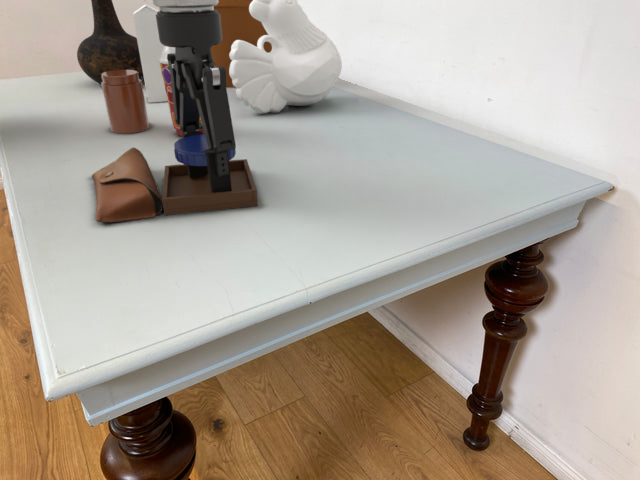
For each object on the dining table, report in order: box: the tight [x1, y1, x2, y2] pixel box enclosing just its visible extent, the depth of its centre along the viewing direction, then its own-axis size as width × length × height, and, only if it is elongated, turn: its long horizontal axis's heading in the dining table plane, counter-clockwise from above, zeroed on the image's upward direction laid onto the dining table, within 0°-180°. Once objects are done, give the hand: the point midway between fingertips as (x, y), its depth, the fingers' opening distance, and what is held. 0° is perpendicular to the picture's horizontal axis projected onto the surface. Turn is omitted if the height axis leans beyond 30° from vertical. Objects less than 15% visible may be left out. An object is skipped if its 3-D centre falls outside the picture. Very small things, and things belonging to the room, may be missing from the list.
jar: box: [100, 70, 150, 135], centre depth 93 cm, size 7×7×11 cm
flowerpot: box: [211, 0, 272, 88], centre depth 129 cm, size 28×28×24 cm
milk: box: [132, 0, 168, 104], centre depth 110 cm, size 6×6×22 cm
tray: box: [161, 158, 259, 216], centre depth 68 cm, size 12×12×2 cm
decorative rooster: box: [229, 0, 343, 115], centre depth 105 cm, size 25×16×25 cm
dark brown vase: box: [76, 0, 144, 85], centre depth 125 cm, size 18×18×28 cm
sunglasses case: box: [91, 147, 164, 224], centre depth 68 cm, size 18×7×7 cm
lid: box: [173, 134, 237, 166], centre depth 66 cm, size 8×8×2 cm
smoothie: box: [159, 46, 205, 137], centre depth 88 cm, size 8×8×20 cm
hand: (209, 185), depth 68 cm, fingers closed on lid, 8 cm apart
